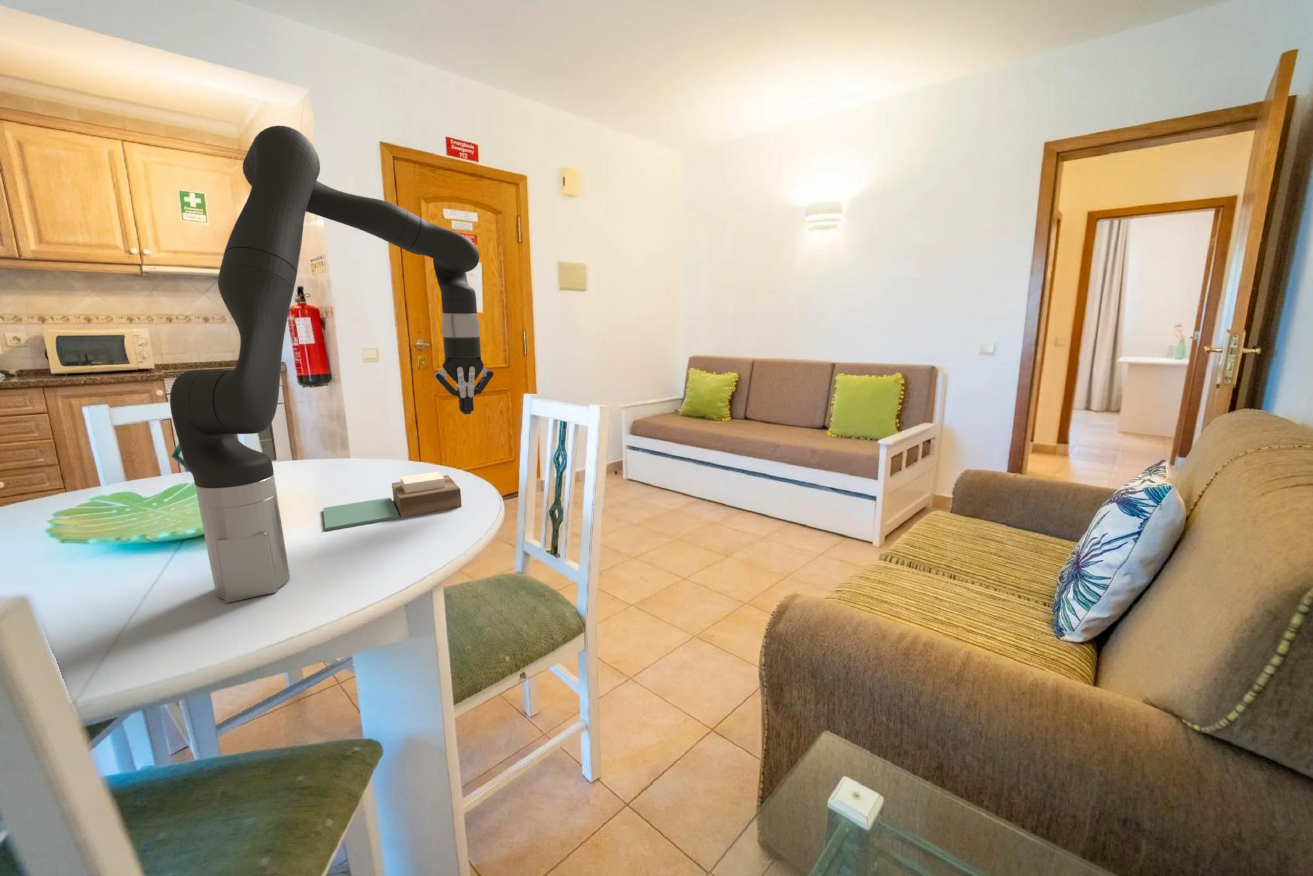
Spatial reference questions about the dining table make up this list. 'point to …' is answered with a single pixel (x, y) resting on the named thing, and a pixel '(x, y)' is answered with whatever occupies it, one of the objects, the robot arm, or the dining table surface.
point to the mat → (359, 513)
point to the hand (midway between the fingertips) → (466, 413)
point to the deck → (426, 498)
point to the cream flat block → (422, 482)
